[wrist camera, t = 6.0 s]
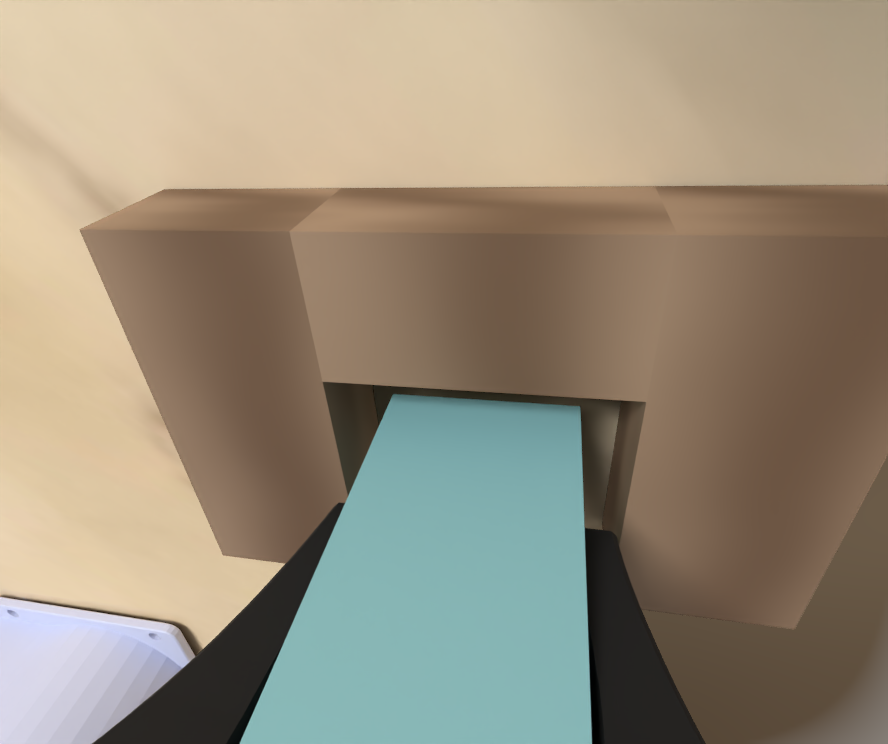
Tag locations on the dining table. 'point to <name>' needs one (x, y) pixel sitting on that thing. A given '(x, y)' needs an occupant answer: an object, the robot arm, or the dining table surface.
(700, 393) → the u-shaped block
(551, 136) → the dining table surface
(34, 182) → the dining table surface
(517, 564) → the peg
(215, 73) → the dining table surface
